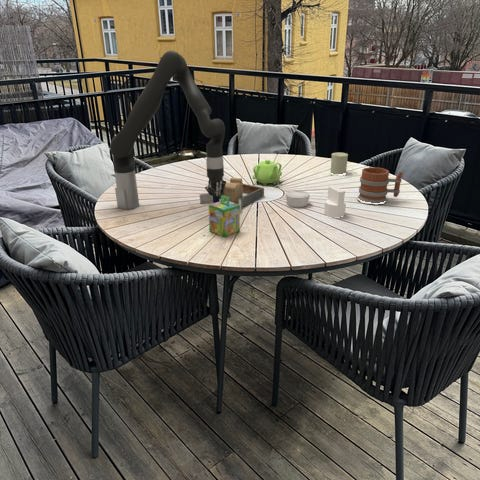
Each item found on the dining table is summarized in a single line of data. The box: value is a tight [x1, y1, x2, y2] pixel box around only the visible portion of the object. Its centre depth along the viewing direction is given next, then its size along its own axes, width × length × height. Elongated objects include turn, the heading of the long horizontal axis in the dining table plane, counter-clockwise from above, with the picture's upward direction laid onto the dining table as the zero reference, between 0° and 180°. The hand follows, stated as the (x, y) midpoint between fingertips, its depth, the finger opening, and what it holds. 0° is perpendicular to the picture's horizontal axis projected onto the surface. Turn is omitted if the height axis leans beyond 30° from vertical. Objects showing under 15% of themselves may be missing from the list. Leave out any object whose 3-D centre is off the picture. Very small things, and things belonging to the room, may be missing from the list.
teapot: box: [252, 159, 283, 187], centre depth 227 cm, size 16×14×13 cm
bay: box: [199, 183, 265, 214], centre depth 204 cm, size 26×24×4 cm
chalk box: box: [208, 195, 241, 238], centre depth 168 cm, size 9×9×15 cm
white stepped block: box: [323, 185, 347, 217], centre depth 183 cm, size 9×9×12 cm
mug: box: [357, 166, 403, 203], centre depth 198 cm, size 14×19×15 cm
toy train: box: [223, 177, 244, 204], centre depth 201 cm, size 6×17×10 cm, turn 166°
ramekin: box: [285, 190, 311, 208], centre depth 197 cm, size 11×11×5 cm
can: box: [330, 152, 349, 174], centre depth 241 cm, size 9×9×12 cm
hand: (216, 203), depth 192 cm, fingers closed
